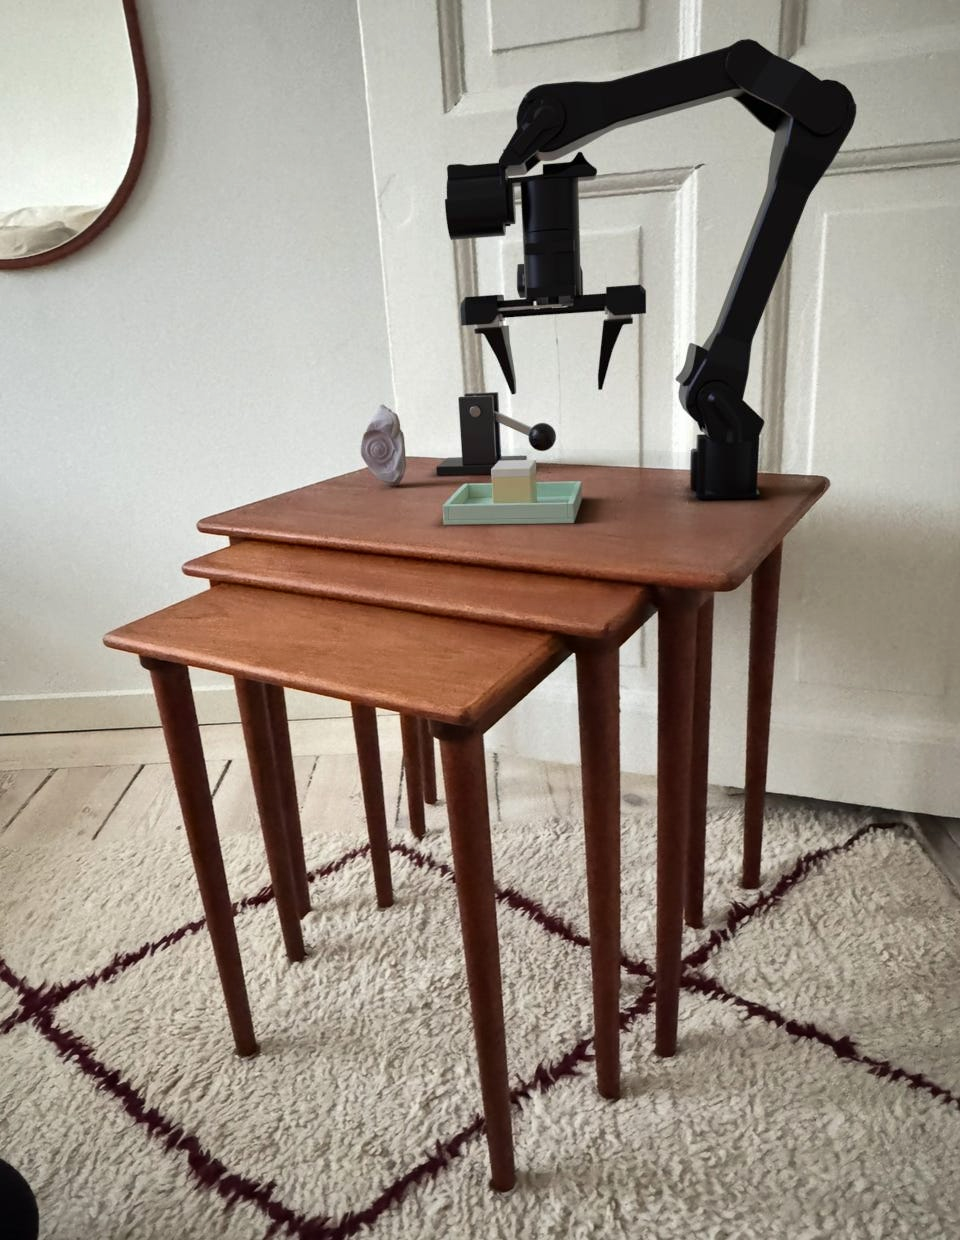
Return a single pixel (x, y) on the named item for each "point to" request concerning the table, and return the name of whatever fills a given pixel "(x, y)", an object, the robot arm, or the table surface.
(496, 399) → the black lever stand
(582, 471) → the table surface
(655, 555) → the table surface
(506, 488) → the cake slice
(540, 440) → the lever
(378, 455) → the fossil
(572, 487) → the tray
